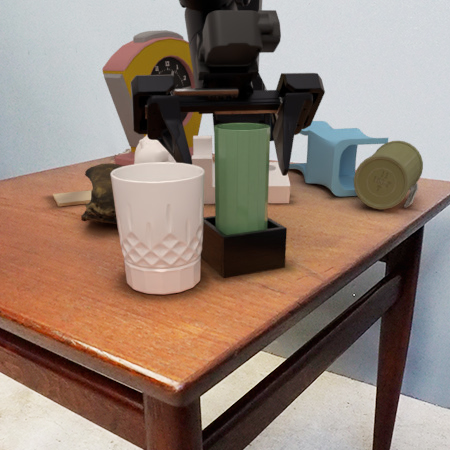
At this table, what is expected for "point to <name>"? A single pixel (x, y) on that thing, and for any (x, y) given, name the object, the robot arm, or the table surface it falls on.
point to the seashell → (101, 194)
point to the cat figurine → (151, 152)
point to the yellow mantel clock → (149, 65)
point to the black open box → (244, 249)
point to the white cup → (160, 224)
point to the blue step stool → (333, 156)
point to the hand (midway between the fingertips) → (239, 175)
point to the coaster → (72, 198)
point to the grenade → (389, 175)
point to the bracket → (203, 159)
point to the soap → (125, 151)
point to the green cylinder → (241, 176)
